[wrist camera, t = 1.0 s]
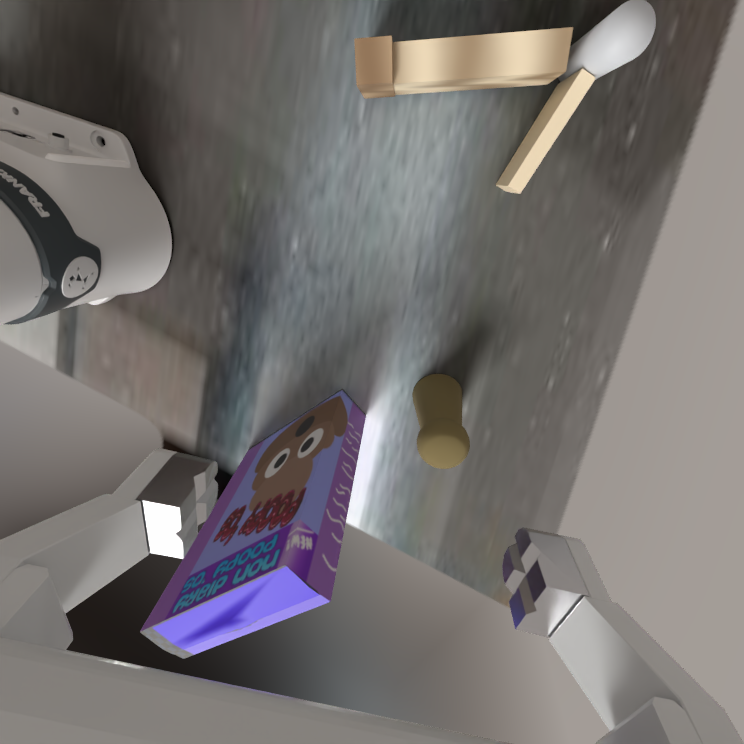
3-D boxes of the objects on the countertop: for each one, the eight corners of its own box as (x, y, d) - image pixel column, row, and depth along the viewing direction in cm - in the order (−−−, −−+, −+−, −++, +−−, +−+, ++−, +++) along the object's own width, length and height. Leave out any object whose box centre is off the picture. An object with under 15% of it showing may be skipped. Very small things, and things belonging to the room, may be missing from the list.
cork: (402, 397, 46) (400, 456, 36) (435, 364, 43) (441, 418, 34) (439, 424, 47) (446, 487, 38) (472, 392, 45) (490, 452, 35)
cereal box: (342, 388, 46) (284, 567, 25) (365, 415, 48) (329, 604, 27) (248, 449, 52) (138, 634, 31) (272, 471, 54) (182, 661, 33)
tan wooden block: (552, 44, 29) (579, 19, 24) (546, 86, 30) (571, 69, 26) (363, 59, 30) (354, 38, 26) (364, 98, 32) (356, 85, 27)
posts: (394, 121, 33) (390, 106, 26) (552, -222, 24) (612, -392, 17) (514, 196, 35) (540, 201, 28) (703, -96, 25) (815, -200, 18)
